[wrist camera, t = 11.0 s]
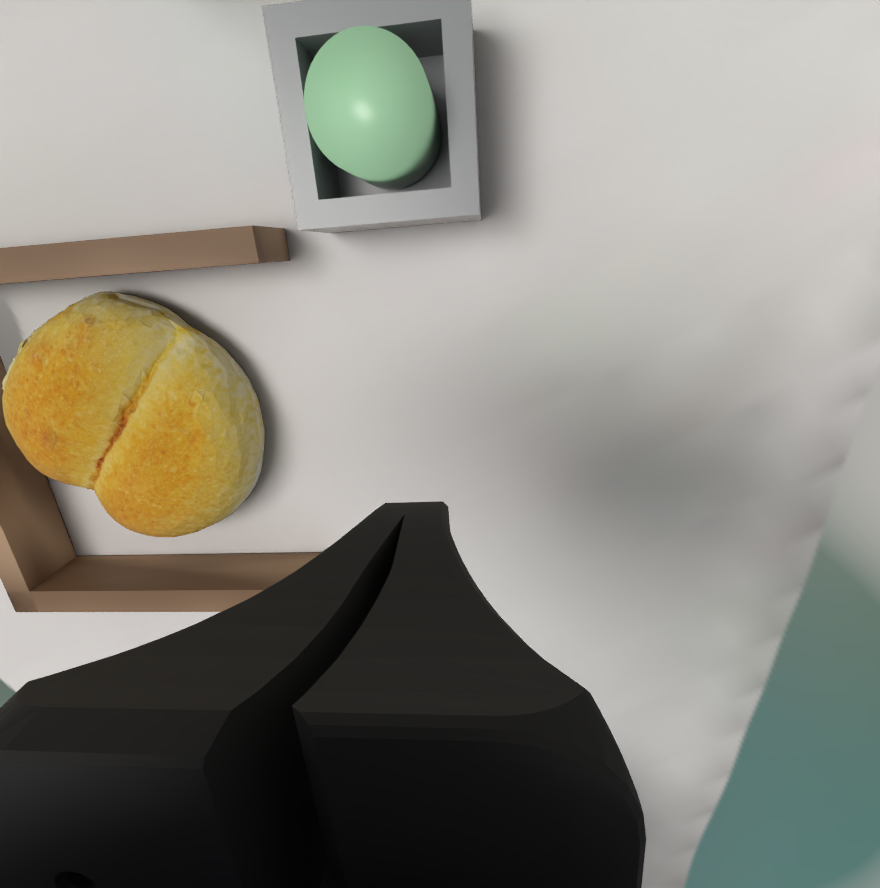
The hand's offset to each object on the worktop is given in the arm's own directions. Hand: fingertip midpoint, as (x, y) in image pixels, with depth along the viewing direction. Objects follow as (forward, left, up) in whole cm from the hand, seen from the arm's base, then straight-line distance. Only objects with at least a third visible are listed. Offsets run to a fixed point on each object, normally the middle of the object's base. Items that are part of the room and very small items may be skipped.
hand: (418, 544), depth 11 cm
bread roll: (+1, +11, -9) cm, 15 cm away
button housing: (+9, +1, -9) cm, 13 cm away
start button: (+9, +1, -8) cm, 12 cm away
